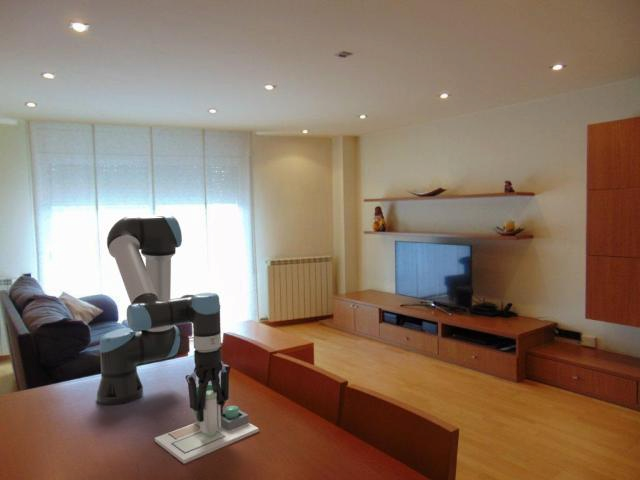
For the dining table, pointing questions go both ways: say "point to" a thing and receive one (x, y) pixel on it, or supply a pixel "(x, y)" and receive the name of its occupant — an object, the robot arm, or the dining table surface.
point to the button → (231, 412)
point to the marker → (211, 412)
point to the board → (205, 437)
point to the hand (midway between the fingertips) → (210, 428)
